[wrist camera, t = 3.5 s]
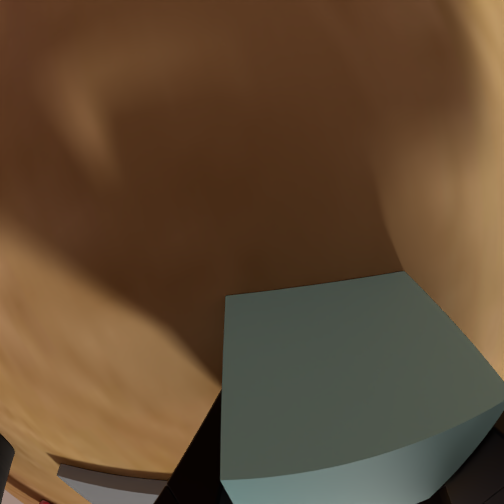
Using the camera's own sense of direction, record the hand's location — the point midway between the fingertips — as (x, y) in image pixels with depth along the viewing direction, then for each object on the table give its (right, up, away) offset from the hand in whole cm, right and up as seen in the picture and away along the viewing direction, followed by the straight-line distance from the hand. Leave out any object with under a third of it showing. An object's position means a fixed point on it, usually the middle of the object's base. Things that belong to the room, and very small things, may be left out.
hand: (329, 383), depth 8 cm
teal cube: (0, +1, +1) cm, 1 cm away
